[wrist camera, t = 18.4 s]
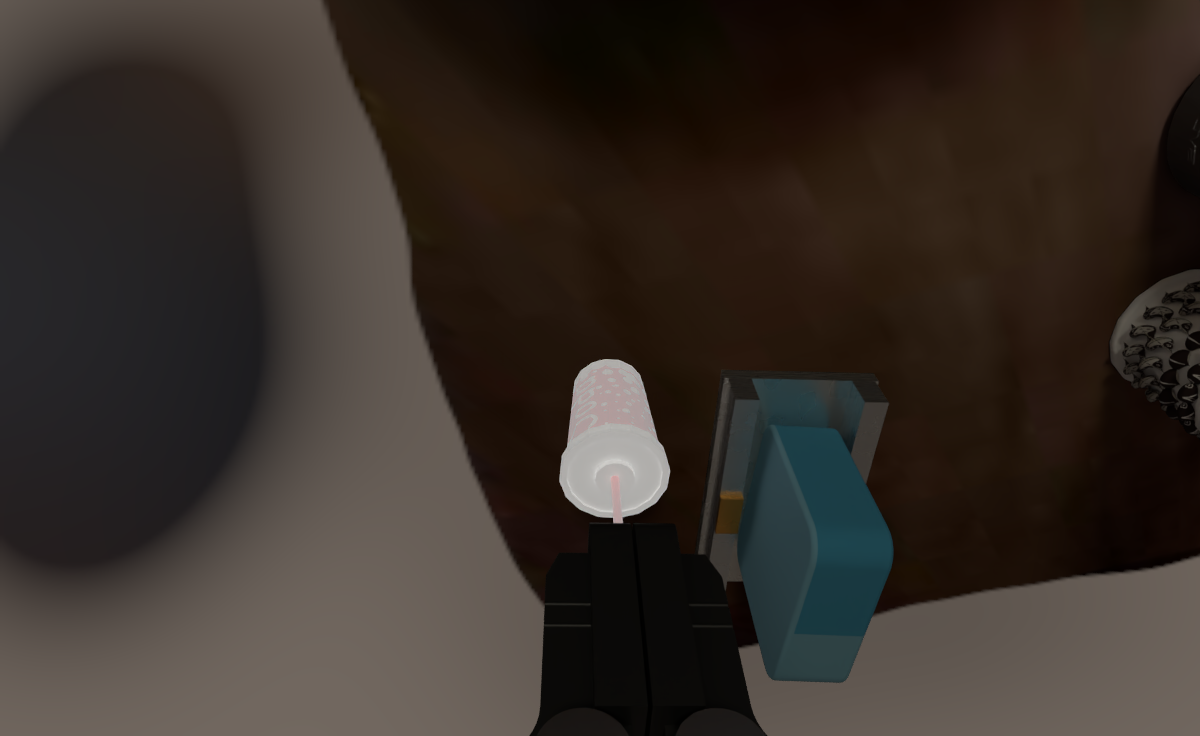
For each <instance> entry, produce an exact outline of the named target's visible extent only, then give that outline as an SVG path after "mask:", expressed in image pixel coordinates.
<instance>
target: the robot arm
mask: <svg viewBox="0 0 1200 736" xmlns="http://www.w3.org/2000/svg"><path fill="white" fill-rule="evenodd" d="M1167 157H1168V164H1169V167H1170V169H1171V172H1172V174H1173V176H1174V178H1175V179H1176V181H1177V182H1178V183H1179V184H1180V185H1181V186H1182V187H1183V188H1184V189H1185V190H1187V191H1189V192H1190V193H1192V194H1194V195H1195V196H1198V197H1200V75H1199V76H1198V77H1197V78H1196V80H1195V81H1194V82H1193V84H1192V85H1191V87H1190V88H1189V89H1188V91H1187V92H1186V93H1185V95H1184V96H1183V98H1182V100H1181V102H1180V104H1179V106H1178V108H1177V110H1176V112H1175V114H1174V116H1173V120H1172V123H1171V126H1170V129H1169V132H1168V141H1167ZM732 624H733V623H732V619H731V614H730V610H729V608H728V601H727V597H726V592H725V588H724V583H723V579H722V576H721V575H720V573H719V572H718V571H717V569H716V568H715V567H714V565H713V564H712V563H711V561H710V560H709V559H708V557H707V556H706V555H705V554H680V548H679V542H678V536H677V530H676V526H675V524H663V523H633V526H632V529H631V524H630V523H589V537H588V553H559V554H558V556H557V557H556V559H555V561H554V563H553V564H552V566H551V568H550V569H549V571H548V573H547V575H546V588H545V611H544V635H543V659H542V681H541V682H542V683H541V705H540V713H539V717H538V721H537V724H536V726H535V727H534V729H533V731H532V733H531V734H530V736H767V735H766V734H765V732H763V730H762V729H761V727H760V726H759V724H758V722H757V721H756V719H755V716H754V714H753V711H752V708H751V704H750V699H749V695H748V691H747V686H746V681H745V677H744V673H743V668H742V664H741V659H740V655H739V650H738V646H737V641H736V637H735V632H734V629H733V627H732Z"/></svg>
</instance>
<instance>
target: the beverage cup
mask: <svg viewBox="0 0 1200 736" xmlns="http://www.w3.org/2000/svg"><path fill="white" fill-rule="evenodd" d="M669 475H670V468H669V465H668V461H667V458H666V454H665V451H664V448H663V446H662V445H661V444H660V443H659V442H658V439H657V435H656V432H655V428H654V424H653V420H652V416H651V413H650V409H649V405H648V401H647V397H646V394H645V390H644V386H643V383H642V380H641V376H640V374H639V373H638V372H637V371H636V370H635V369H634V368H633V367H632V366H631V365H629V364H627V363H624V362H622V361H620V360H610V359H604V360H600V361H597V362H593V363H591V364H590V365H588V366H587V367H585V368H584V369H583V370H581V372H580V373H579V375H578V376H577V378H576V380H575V383H574V392H573V401H572V410H571V418H570V427H569V436H568V445H567V448H566V450H565V452H564V453H563V455H562V461H561V470H560V484H561V486H562V488H563V491H564V493H565V496H566V497H567V498H568V499H569V500H570V501H571V502H572V503H573V504H574V505H575V506H576V507H577V508H579V509H580V510H582V511H585V512H587V513H590V514H592V515H595V516H597V517H608V518H613V523H623V519H622V517H626V516H630V515H634V514H638V513H640V512H642V511H644V510H645V509H647V508H649V507H650V506H652V505H653V504H655V503H656V502H657V501H658V499H659V498H660V497H661V495H662V494H663V493H664V491H665V490H666V489H667V485H668V480H669Z"/></svg>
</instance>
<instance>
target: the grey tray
mask: <svg viewBox="0 0 1200 736" xmlns="http://www.w3.org/2000/svg"><path fill="white" fill-rule="evenodd" d="M878 383H879V381H878V379H877V378H876V376H875V375H874V373H836V372H793V371H749V370H722V371H721V378H720V385H719V392H718V398H717V405H716V412H715V419H714V426H713V432H712V439H711V446H710V453H709V460H708V467H707V473H706V480H705V487H704V494H703V501H702V508H701V514H700V521H699V528H698V535H697V542H696V548H695V554H705V555H706V556H707V557H708V559H709V560H710V561H711V563H712V564H713V565H714V567H715V568H716V569H717V571H718V572H719V573H720V575H721V576H722V579H723V583H724V588H725V590H726V584H727V581H743V579H742V575H741V571H740V567H739V563H738V556H737V541H738V535H739V530H740V526H741V522H742V518H743V514H744V510H745V506H746V502H747V498H748V494H749V490H750V486H751V482H752V478H753V474H754V470H755V466H756V462H757V457H758V453H759V449H760V445H761V441H762V437H763V434H764V431H765V429H766V428H767V427H768V426H769V425H785V426H802V427H818V428H833V429H836V430H837V431H838V432H839V433H840V435H841V437H842V439H843V441H844V443H845V445H846V447H847V449H848V451H849V453H850V455H851V456H852V458H853V460H854V462H855V464H856V466H857V468H858V470H859V472H860V474H861V476H862V478H863V480H864V482H865V484H866V481H867V478H868V474H869V471H870V467H871V464H872V460H873V457H874V453H875V450H876V446H877V443H878V439H879V436H880V432H881V429H882V425H883V422H884V418H885V415H886V411H887V408H888V404H889V402H888V401H887V399H886V398H885V396H884V394H883V393H882V391H881V390H880V388H879V387H878Z"/></svg>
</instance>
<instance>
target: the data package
mask: <svg viewBox="0 0 1200 736" xmlns="http://www.w3.org/2000/svg"><path fill="white" fill-rule="evenodd" d="M737 556H738V563H739V567H740V571H741V575H742V579H743V583H744V587H745V591H746V595H747V599H748V602H749V606H750V610H751V614H752V618H753V622H754V626H755V630H756V634H757V638H758V642H759V646H760V649H761V654H762V658H763V662H764V665H765V669H766V671H767V674H768V676H769V677H770V678H771V679H773V680H779V681H807V682H809V681H810V682H836V683H839V682H844V681H845V680H846V679H847V678H848V676H849V673H850V671H851V668H852V666H853V663H854V660H855V658H856V655H857V653H858V651H859V648H860V645H861V643H862V640H863V638H864V635H865V632H866V630H867V628H868V625H869V623H870V620H871V618H872V615H873V613H874V610H875V608H876V605H877V603H878V600H879V597H880V595H881V592H882V590H883V587H884V585H885V582H886V580H887V577H888V575H889V572H890V570H891V566H892V562H893V542H892V537H891V534H890V531H889V529H888V527H887V525H886V523H885V521H884V519H883V517H882V515H881V513H880V511H879V509H878V507H877V505H876V503H875V501H874V499H873V497H872V495H871V493H870V492H869V490H868V488H867V486H866V484H865V482H864V480H863V478H862V476H861V474H860V472H859V470H858V468H857V466H856V464H855V462H854V460H853V458H852V456H851V455H850V453H849V451H848V449H847V447H846V445H845V443H844V441H843V439H842V437H841V435H840V433H839V432H838V431H837V430H836V429H833V428H818V427H802V426H785V425H769V426H768V427H767V428H766V429H765V431H764V434H763V437H762V441H761V445H760V449H759V453H758V457H757V462H756V466H755V470H754V474H753V478H752V482H751V486H750V490H749V494H748V498H747V502H746V506H745V510H744V514H743V518H742V522H741V526H740V530H739V535H738V541H737Z"/></svg>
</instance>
